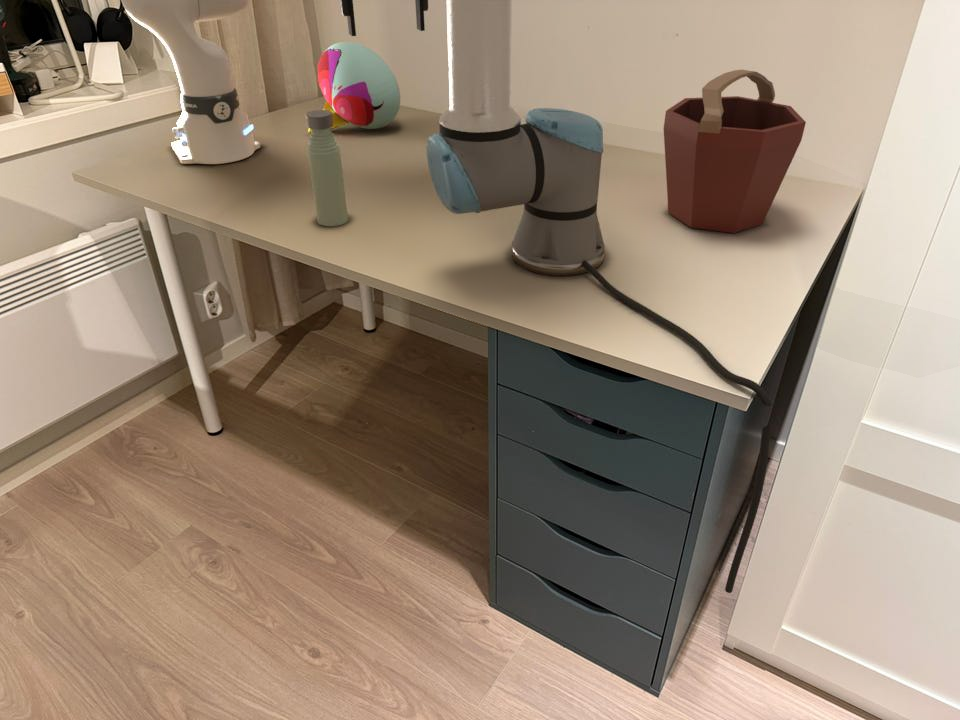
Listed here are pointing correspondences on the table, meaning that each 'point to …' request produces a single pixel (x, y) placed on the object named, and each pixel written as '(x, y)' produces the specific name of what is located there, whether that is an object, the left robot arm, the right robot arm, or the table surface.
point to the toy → (357, 86)
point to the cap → (319, 119)
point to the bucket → (728, 154)
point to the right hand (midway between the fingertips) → (387, 32)
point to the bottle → (327, 178)
